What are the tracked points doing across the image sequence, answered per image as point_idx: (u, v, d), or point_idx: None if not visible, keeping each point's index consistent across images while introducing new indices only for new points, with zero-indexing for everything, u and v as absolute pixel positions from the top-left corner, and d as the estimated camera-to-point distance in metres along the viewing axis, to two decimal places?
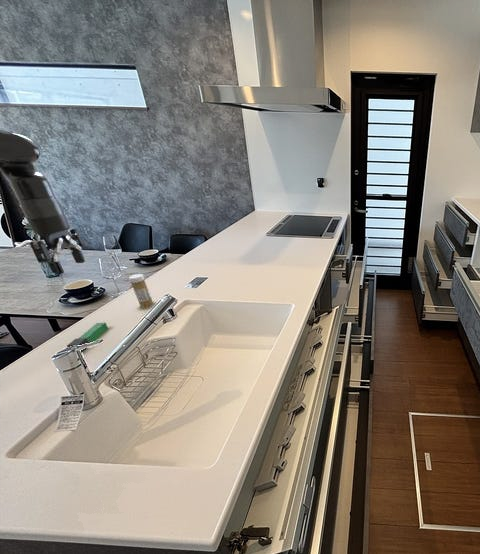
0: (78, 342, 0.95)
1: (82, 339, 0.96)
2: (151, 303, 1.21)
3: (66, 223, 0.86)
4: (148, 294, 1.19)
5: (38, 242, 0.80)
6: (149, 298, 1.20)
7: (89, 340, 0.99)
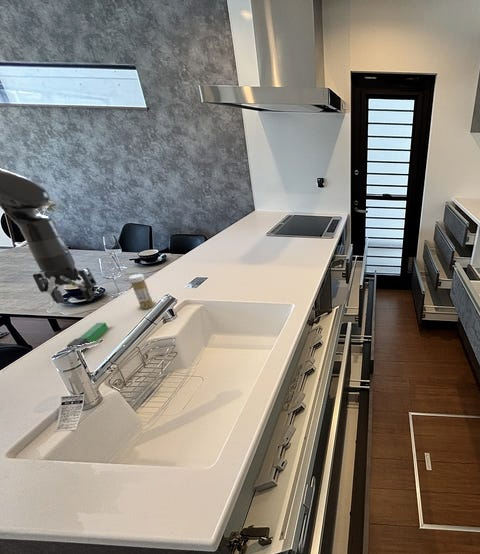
0: (78, 342, 0.95)
1: (82, 339, 0.96)
2: (151, 303, 1.21)
3: None
4: (148, 294, 1.19)
5: (87, 268, 0.92)
6: (149, 298, 1.20)
7: (89, 340, 0.99)
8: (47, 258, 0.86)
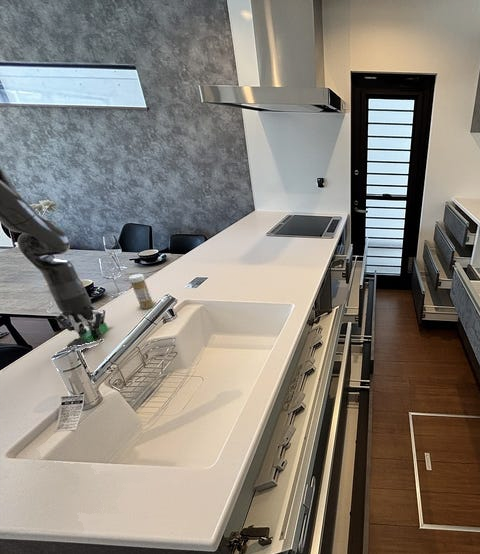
0: (78, 342, 0.95)
1: (82, 339, 0.96)
2: (151, 303, 1.21)
3: None
4: (148, 294, 1.19)
5: (104, 311, 0.99)
6: (149, 298, 1.20)
7: (89, 340, 0.99)
8: (66, 299, 0.92)
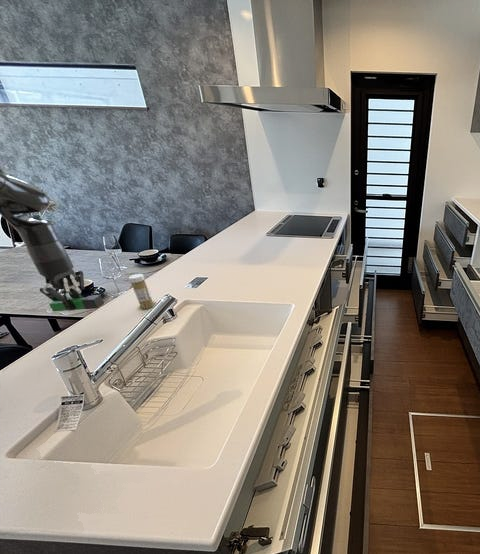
0: (95, 296, 0.97)
1: (90, 296, 0.97)
2: (151, 303, 1.21)
3: None
4: (148, 294, 1.19)
5: None
6: (149, 298, 1.20)
7: None
8: (67, 256, 0.91)
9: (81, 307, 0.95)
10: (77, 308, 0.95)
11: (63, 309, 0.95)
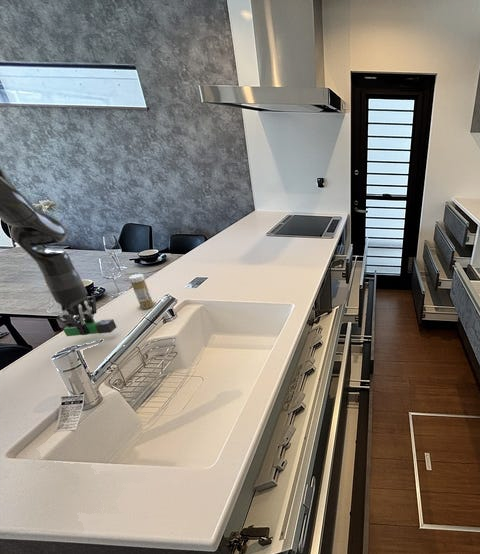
0: (108, 320, 1.00)
1: (103, 320, 1.00)
2: (151, 303, 1.21)
3: None
4: (148, 294, 1.19)
5: None
6: (149, 298, 1.20)
7: None
8: (82, 283, 0.95)
9: (94, 331, 0.99)
10: (90, 332, 0.99)
11: (77, 334, 0.99)
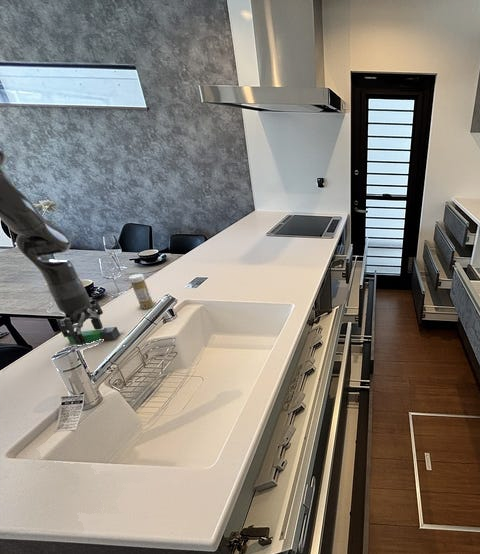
0: (111, 328, 1.02)
1: (106, 328, 1.02)
2: (151, 303, 1.21)
3: None
4: (148, 294, 1.19)
5: None
6: (149, 298, 1.20)
7: None
8: (85, 291, 0.96)
9: (98, 339, 1.00)
10: (94, 340, 1.00)
11: None
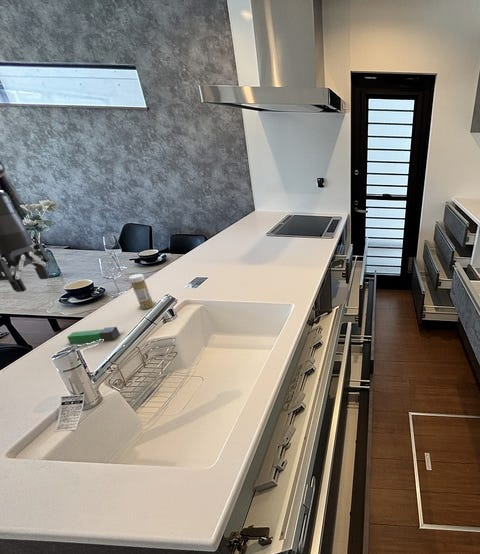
0: (111, 328, 1.02)
1: (106, 328, 1.02)
2: (151, 303, 1.21)
3: None
4: (148, 294, 1.19)
5: None
6: (149, 298, 1.20)
7: None
8: (26, 230, 0.83)
9: (98, 339, 1.00)
10: (94, 340, 1.00)
11: (80, 341, 1.00)
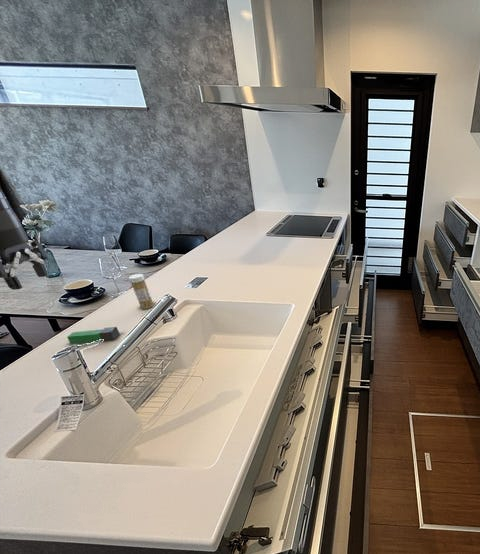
0: (111, 328, 1.02)
1: (106, 328, 1.02)
2: (151, 303, 1.21)
3: None
4: (148, 294, 1.19)
5: None
6: (149, 298, 1.20)
7: None
8: (21, 227, 0.82)
9: (98, 339, 1.00)
10: (94, 340, 1.00)
11: (80, 341, 1.00)
